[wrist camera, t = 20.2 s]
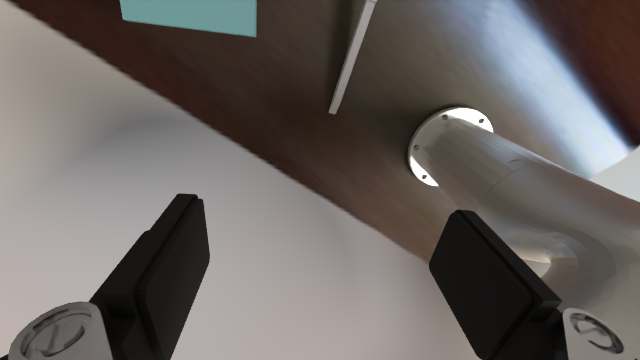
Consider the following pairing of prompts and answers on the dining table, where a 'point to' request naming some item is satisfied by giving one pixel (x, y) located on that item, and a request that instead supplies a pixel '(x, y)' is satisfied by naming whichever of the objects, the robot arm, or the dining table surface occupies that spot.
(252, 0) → the latch flap
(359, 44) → the caliper
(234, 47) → the dining table surface
